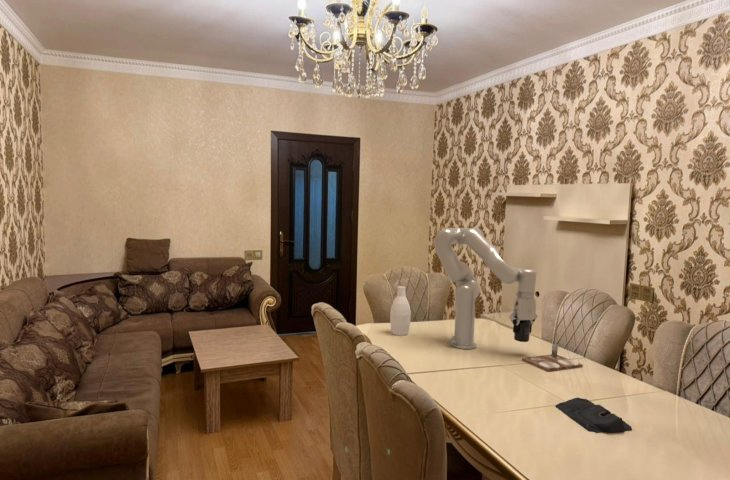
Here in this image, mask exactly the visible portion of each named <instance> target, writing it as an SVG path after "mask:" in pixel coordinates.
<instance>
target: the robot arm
mask: <svg viewBox="0 0 730 480" xmlns="http://www.w3.org/2000/svg"><path fill="white" fill-rule="evenodd" d="M433 243H434V250H435V252H436V255H437V257H438V258H439V261H440V263H441V266H442V267H443V270H444V271H445V272H446V275H447V277H448V279H449V280H450V281H451V282H454V283H457V285H458V286H457V287H456V289H455V292H454V301H455V309H454V311H455V312H454V315H455V316H454V335H452V337H451V338H445V343H446V344H447V343H448V344H449V343H450V345H451V347H454V348H457V349H463V350H472V349H475V348H477V343H475V342H474V339H475V321H476V320H475V318H476V302H475V301H476V299H477V298H478V297H479V295H480V293H481V286H480V285H479V282H478V280H477V279H476V277H475V275H474V273H473V271H472V269H471V267H470V266H469V265H468V264H467V263H466V262H463V261H460V259H459V257H458V255H457V253H456V251H455V250H454V249H453V246H452V245H467V246H468V247H469V248H470V249H471V250H472V252H474V253H475V254H476V255H477V257H479V258H480V259H481V260H482V261H483V262H484V264H485V265H486V267H487V268H488V269H489V271H491V273H492V274H494V275H495V277H496V278H497V279H499V280H500V281H501V282H502V283H504V284H507V285H511V284H514V283H518V285H517V293H515V295H516V297H515V300H514V305H513V312H512V313H511V314H510V315H509V320H510V321H511V323H512V325H513V327H512V333H516V334H518V333H519V325H518V324H519V322H520V320H528V321H529V322H530V334H531V333H532V327H533V325H534V322H535V321H536V320H537V318H538V314H537V311H536V309H537V304H536V298H535V291H536V281H537V271H536V270H535V269H531V268H521V267H517V266H513V265H511V266H510V265H508V264H507V262H505V261H504V260H503V258H502V257H501V256H500V254H499V253H498V249H497V248H496V246H494V244H492V243H491V242H490V241H489V240H488V239H487V238H486V237H485V236H484V232H483V231H482V230H481V229H480V228H478V227H446V228H445V227H444V228H442V229H441V230H440V231H439V232H438V233H437V234H436V236H435V238H434V242H433ZM516 321H517V322H516Z"/></svg>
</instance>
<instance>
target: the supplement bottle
mask: <svg viewBox="0 0 730 480" xmlns="http://www.w3.org/2000/svg"><path fill="white" fill-rule="evenodd" d="M516 322H517V321H516ZM518 325H519V333H518V334H516V333H514V332H513V333H514V334H513V339H514V340H515V341H516V342H521V343H528V342H529V341H530V334H531V333H530V322H529V321H528V320H520V322H519V324H518Z"/></svg>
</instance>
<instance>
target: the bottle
mask: <svg viewBox="0 0 730 480" xmlns="http://www.w3.org/2000/svg"><path fill="white" fill-rule="evenodd" d="M396 288H397V292H396V293H397V294H396V296H395V297H394V300H393V301H392V304H391V307H390V313H389V316H390V317H389V318H390V319H389V320H390V333H391V335H394V336H400V337H402V336H408V334H409V332H410V326H411V317H412V312H411V305H410V302H409V300H408V299H407V296H406V294H407V293H406V289H407V288H406V286H403V285H399V286H397V287H396Z"/></svg>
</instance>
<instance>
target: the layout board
mask: <svg viewBox="0 0 730 480" xmlns="http://www.w3.org/2000/svg"><path fill="white" fill-rule="evenodd" d="M551 346H552V347H551V354H545V355H534V356H528V357H521V361H523V362H524V363H527V364H529V365H531V366H534V367H536V368H538V369H540V370H543V371H545V372H556V371H563V370H565V371H566V370H572V369H578V368H583V363H580V362H577V361H574V360H572V359H569V358H567V357H564V356H561V355H559V354H558V350H559V349H558V348H559V344H558V343H552V344H551Z"/></svg>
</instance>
